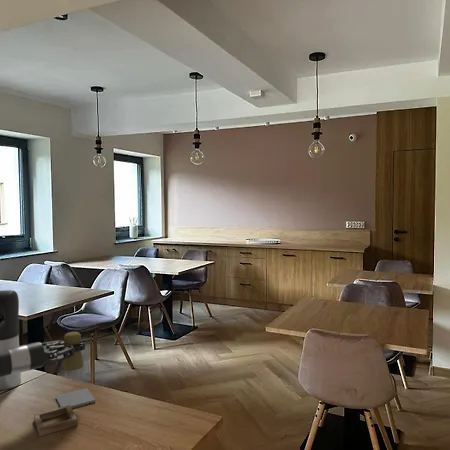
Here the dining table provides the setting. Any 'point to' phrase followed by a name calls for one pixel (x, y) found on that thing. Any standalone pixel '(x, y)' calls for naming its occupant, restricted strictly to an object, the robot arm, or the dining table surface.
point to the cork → (76, 360)
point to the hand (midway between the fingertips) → (81, 344)
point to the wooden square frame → (56, 426)
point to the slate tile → (75, 398)
